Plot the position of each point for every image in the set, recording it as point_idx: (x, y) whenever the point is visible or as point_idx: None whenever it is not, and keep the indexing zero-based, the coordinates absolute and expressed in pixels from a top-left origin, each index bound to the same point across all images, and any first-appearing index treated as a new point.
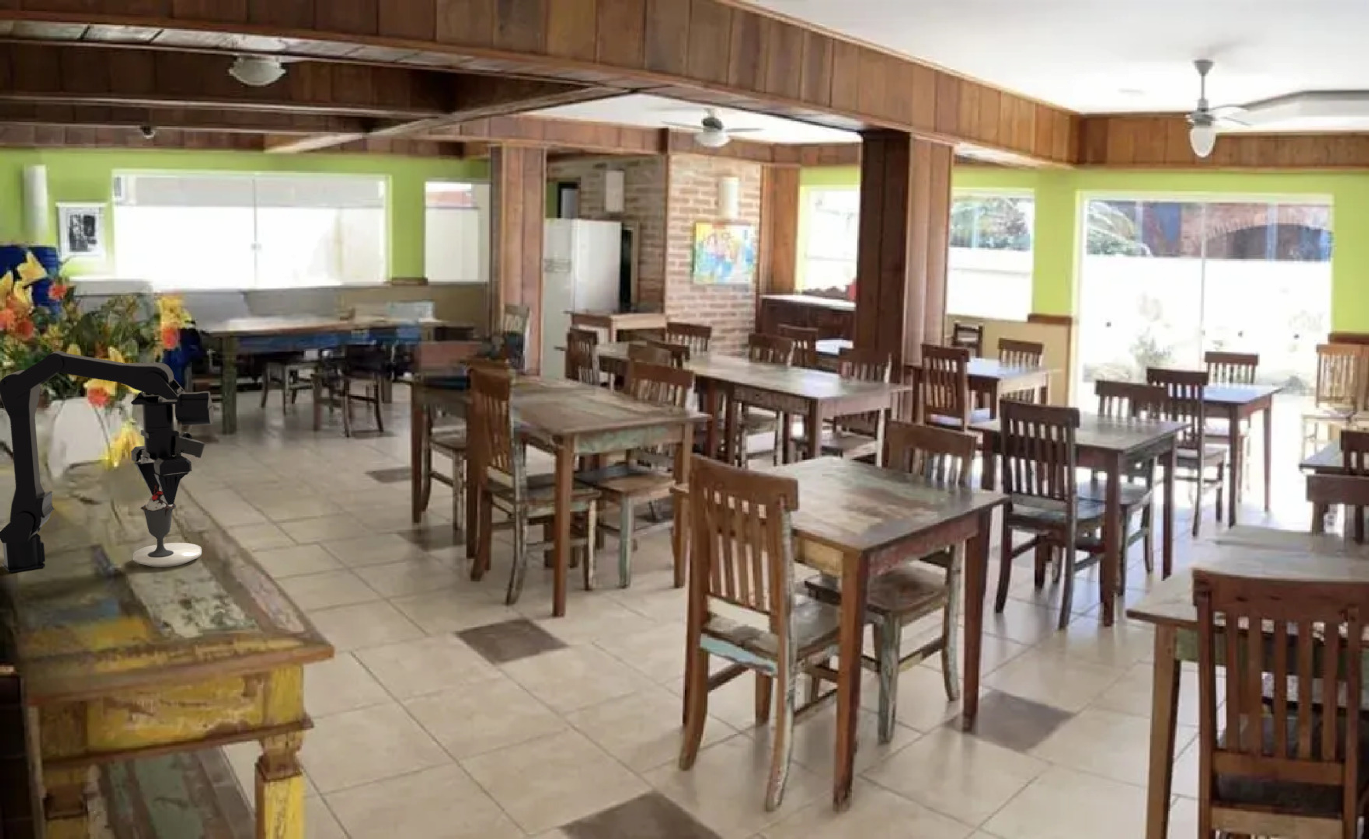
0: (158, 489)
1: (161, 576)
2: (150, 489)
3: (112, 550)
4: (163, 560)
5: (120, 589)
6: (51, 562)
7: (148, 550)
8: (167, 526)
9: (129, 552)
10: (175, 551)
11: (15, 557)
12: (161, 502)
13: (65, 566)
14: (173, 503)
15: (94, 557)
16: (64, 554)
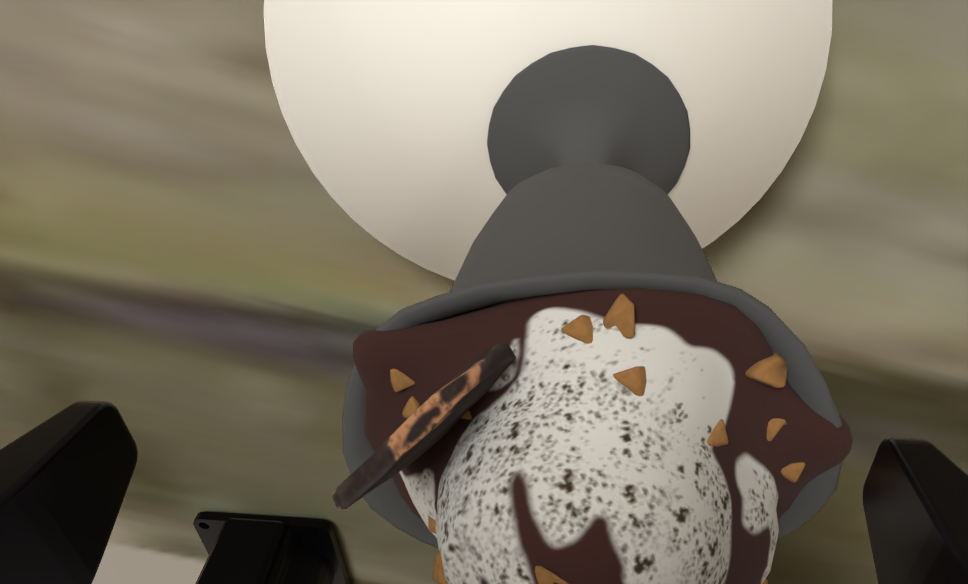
0: (45, 481)
1: (905, 203)
2: (86, 580)
3: (109, 251)
4: (774, 177)
5: (947, 427)
6: (250, 484)
7: (422, 182)
8: (701, 248)
9: (189, 191)
10: (577, 19)
11: None
12: (755, 558)
13: (346, 468)
14: (936, 449)
15: (233, 352)
16: (125, 423)
